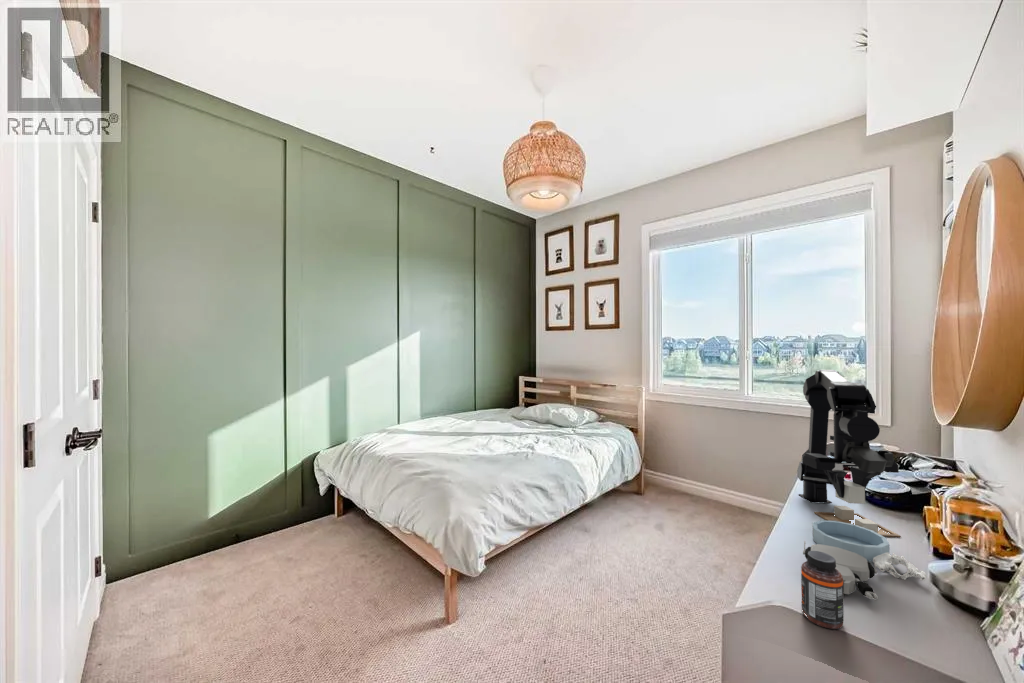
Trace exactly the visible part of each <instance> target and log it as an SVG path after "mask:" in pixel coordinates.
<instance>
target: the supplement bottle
mask: <svg viewBox="0 0 1024 683" xmlns="http://www.w3.org/2000/svg"><path fill="white" fill-rule="evenodd" d="M807 559H808V560H807ZM807 559H806V561H804V562H802V563H801V566H800V568H801V569H800V571H801V572H800V574H801V575H800V577H801V580H800V582H801V585H800V586H801V589H800V590H801V611H802V610H803V612H804V613H805V614H806V615H807V617H808V621H810V622H811V623H813V624H815V625H817V626H819V627H822V628H826V629H830V630H838V628H839V629H841V628H842V627H843V626H844V621H845V620H844V617H845V616H844V612H845V611H844V592H843V577H842V575H841V573H840V572H839V571H838V570H837V569H836V560H835V558H834V557H832V556H831V555H829V554H827V553H824V552H820V551H809V552H808V557H807ZM803 612H802V613H803Z"/></svg>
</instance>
